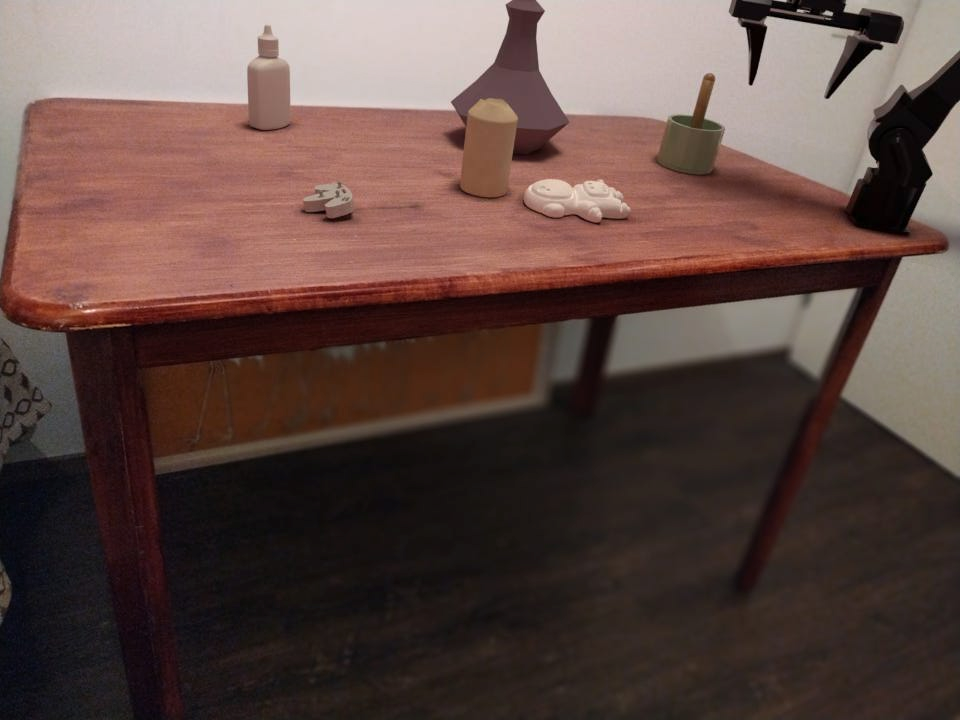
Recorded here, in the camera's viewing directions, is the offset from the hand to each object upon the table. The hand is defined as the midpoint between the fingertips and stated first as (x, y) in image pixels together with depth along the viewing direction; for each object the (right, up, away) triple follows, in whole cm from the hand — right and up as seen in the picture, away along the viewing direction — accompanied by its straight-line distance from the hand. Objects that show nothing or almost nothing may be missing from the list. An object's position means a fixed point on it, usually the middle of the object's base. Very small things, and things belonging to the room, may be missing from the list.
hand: (787, 91), depth 91 cm
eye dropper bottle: (-65, -3, +5) cm, 65 cm away
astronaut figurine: (-27, -16, -7) cm, 32 cm away
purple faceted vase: (-34, -3, +12) cm, 36 cm away
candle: (-38, -13, -5) cm, 40 cm away
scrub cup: (-9, -5, +14) cm, 17 cm away
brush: (-9, -5, +13) cm, 17 cm away
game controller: (-50, -18, -15) cm, 55 cm away
